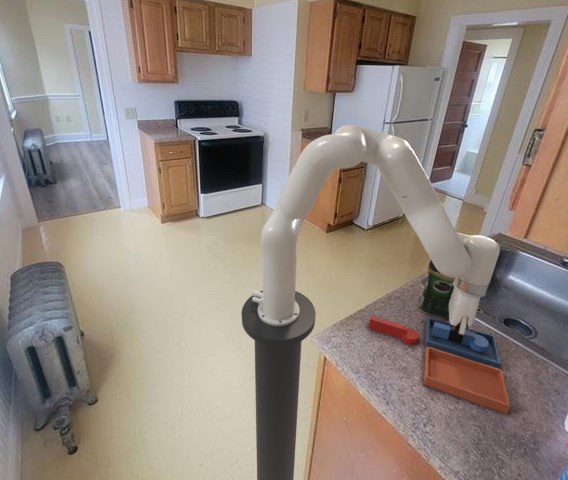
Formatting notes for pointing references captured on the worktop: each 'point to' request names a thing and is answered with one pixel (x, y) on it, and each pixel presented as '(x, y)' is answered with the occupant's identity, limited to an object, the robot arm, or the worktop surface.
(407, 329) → the red bar with disc
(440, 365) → the tray orange
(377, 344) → the worktop surface
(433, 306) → the coffee jar
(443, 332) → the blue bar with disc
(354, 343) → the worktop surface
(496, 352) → the tray blue
